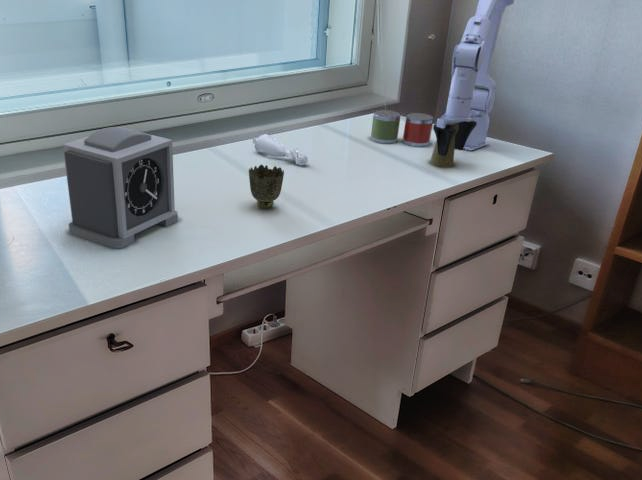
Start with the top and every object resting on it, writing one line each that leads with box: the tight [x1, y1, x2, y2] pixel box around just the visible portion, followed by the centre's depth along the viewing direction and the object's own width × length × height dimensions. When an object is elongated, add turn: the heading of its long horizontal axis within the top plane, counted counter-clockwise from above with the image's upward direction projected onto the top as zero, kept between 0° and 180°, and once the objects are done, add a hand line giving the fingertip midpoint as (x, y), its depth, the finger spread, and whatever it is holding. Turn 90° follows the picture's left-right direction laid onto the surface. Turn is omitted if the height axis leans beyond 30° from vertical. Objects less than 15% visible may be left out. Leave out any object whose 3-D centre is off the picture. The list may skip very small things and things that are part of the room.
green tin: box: [370, 109, 401, 144], centre depth 192 cm, size 8×8×7 cm
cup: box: [248, 164, 285, 210], centre depth 145 cm, size 8×7×8 cm
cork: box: [429, 123, 459, 168], centre depth 175 cm, size 6×6×11 cm
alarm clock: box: [62, 126, 179, 250], centre depth 130 cm, size 18×13×18 cm
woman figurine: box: [252, 133, 309, 166], centre depth 175 cm, size 12×4×18 cm
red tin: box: [402, 112, 434, 148], centre depth 191 cm, size 8×8×7 cm
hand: (450, 152), depth 175 cm, fingers open, 7 cm apart
